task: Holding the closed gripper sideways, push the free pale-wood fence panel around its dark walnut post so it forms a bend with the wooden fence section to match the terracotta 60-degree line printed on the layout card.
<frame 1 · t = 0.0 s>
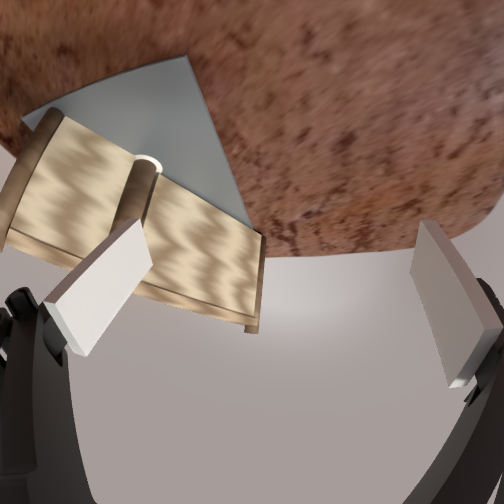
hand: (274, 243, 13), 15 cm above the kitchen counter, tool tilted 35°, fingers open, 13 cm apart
fence panel: (208, 262, 37), point 8 cm above the kitchen counter, hinge at 0.0°
layout card: (154, 185, 36), on the kitchen counter
wooden fence section: (145, 163, 32), resting on layout card
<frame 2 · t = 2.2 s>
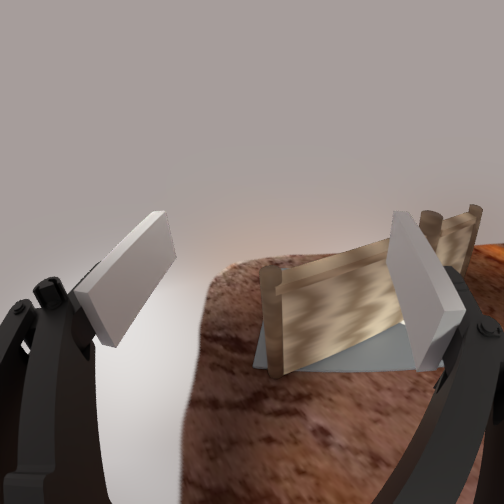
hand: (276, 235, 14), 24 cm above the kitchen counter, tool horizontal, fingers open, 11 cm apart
fence panel: (350, 302, 32), point 8 cm above the kitchen counter, hinge at 0.0°
layout card: (378, 313, 41), on the kitchen counter
wooden fence section: (406, 317, 39), resting on layout card
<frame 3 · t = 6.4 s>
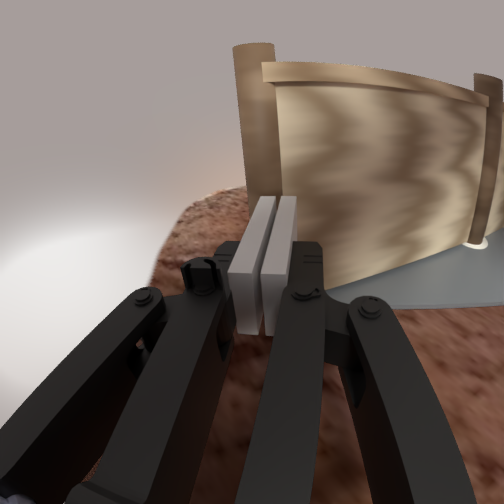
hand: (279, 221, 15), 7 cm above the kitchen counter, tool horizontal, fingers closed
fence panel: (399, 169, 17), point 8 cm above the kitchen counter, hinge at 2.8°, touching gripper
layout card: (430, 235, 26), on the kitchen counter
wooden fence section: (469, 241, 24), resting on layout card
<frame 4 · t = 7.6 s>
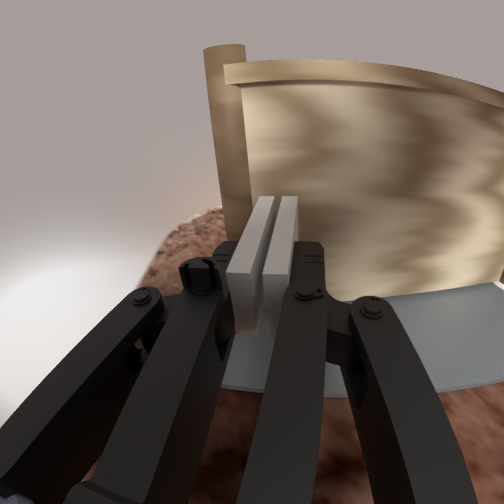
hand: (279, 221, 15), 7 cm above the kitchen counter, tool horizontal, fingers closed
fence panel: (407, 183, 14), point 8 cm above the kitchen counter, hinge at 20.7°, touching gripper
layout card: (462, 274, 20), on the kitchen counter
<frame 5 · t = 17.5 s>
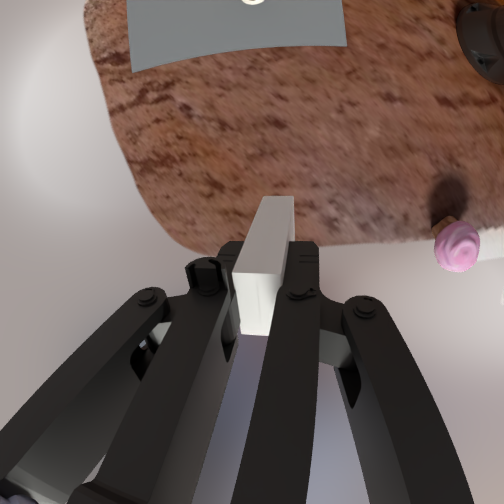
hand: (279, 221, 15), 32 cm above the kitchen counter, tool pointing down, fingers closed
cupcake: (443, 228, 45), on the kitchen counter
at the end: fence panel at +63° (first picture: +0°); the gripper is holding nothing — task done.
